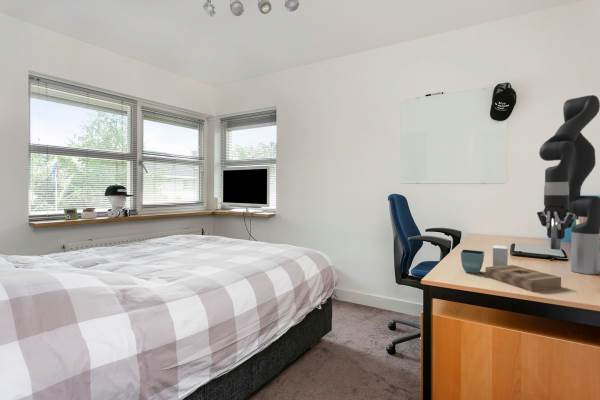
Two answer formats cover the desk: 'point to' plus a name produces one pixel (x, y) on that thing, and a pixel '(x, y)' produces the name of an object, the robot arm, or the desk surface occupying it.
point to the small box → (500, 255)
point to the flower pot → (472, 260)
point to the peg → (554, 235)
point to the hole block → (523, 277)
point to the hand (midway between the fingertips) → (555, 238)
